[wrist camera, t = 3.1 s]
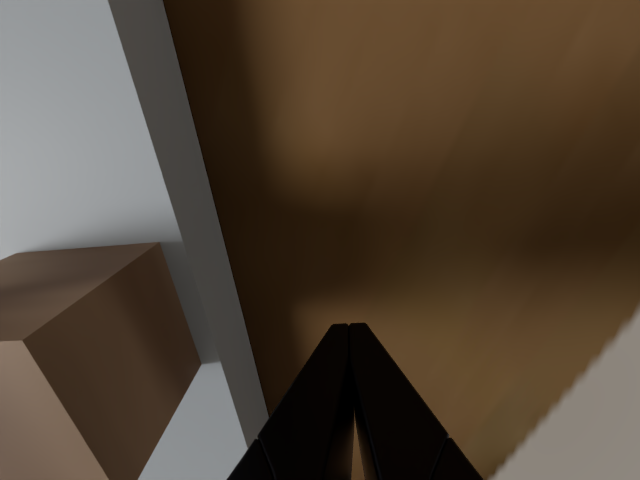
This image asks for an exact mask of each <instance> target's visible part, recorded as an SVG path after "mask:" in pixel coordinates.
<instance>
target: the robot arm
mask: <svg viewBox="0 0 640 480" xmlns="http://www.w3.org/2000/svg"><path fill="white" fill-rule="evenodd" d="M354 411H355V421H356V428H357V435H358V441H359V447H360V453H361V459H362V465H363V471H364V477H365V480H484V479H483V478H482V477H481V476H480V474H479V473H478V472H477V471H476V469H475V468H474V467H473V465H472V464H471V463H470V462H469V460H468V459H467V458H466V456H465V455H464V454H463V452H462V451H461V450H460V448H459V447H458V446H457V444H456V443H455V442H454V440H453V439H452V438H449V434H448V433H447V431H446V430H445V429H444V427H443V426H442V425H441V423H440V422H439V421H438V419H437V418H436V416H435V415H434V414H433V412H432V411H431V410H430V408H429V407H428V406H427V404H426V403H425V402H424V400H423V399H422V398H421V396H420V395H419V394H418V392H417V391H416V390H415V388H414V387H413V386H412V384H411V383H410V382H409V380H408V379H407V378H406V376H405V375H404V374H403V372H402V371H401V370H400V368H399V367H398V365H397V364H396V363H395V361H394V360H393V359H392V357H391V356H390V355H389V353H388V352H387V351H386V349H385V348H384V347H383V345H382V344H381V343H380V341H379V340H378V339H377V337H376V336H375V335H374V333H373V332H372V331H371V329H370V328H369V327H368V325H367V324H366V323H351V324H350V325H348V324H346V323H343V324H333V325H331V327H330V328H329V329H328V331H327V332H326V334H325V335H324V337H323V338H322V340H321V341H320V343H319V344H318V346H317V347H316V349H315V350H314V352H313V353H312V355H311V356H310V358H309V359H308V361H307V362H306V364H305V365H304V367H303V368H302V370H301V371H300V373H299V374H298V376H297V377H296V378H295V380H294V381H293V383H292V384H291V386H290V387H289V389H288V390H287V392H286V393H285V395H284V396H283V398H282V399H281V401H280V402H279V404H278V405H277V407H276V408H275V410H274V411H273V413H272V414H271V416H270V417H269V419H268V420H267V422H266V423H265V425H264V426H263V427H262V429H261V430H260V432H259V433H258V435H257V438H258V439H254V440H253V442H252V443H251V445H250V446H249V448H248V449H247V451H246V452H245V454H244V455H243V457H242V458H241V460H240V461H239V463H238V464H237V465H236V467H235V468H234V470H233V471H232V472H231V474H230V475H229V477H228V478H227V479H226V480H351V471H352V456H353V440H354Z"/></svg>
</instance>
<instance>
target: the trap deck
mask: <svg viewBox="0 0 640 480" xmlns="http://www.w3.org/2000/svg"><path fill="white" fill-rule="evenodd" d="M152 242H160V245H161V248H162V251H163V254H164V257H165V260H166V263H167V265H168V268H169V271H170V274H171V277H172V280H173V283H174V286H175V289H176V292H177V294H178V297H179V300H180V303H181V306H182V309H183V312H184V315H185V318H186V320H187V323H188V326H189V329H190V332H191V335H192V338H193V341H194V344H195V347H196V349H197V352H198V355H199V358H200V361H201V364H202V365H201V367H200V368H199V370H198V372H197V374H196V376H195V377H194V379H193V381H192V383H191V385H190V386H189V388H188V390H187V392H186V394H185V395H184V397H183V399H182V401H181V403H180V404H179V406H178V408H177V410H176V412H175V413H174V415H173V417H172V419H171V421H170V422H169V424H168V426H167V428H166V430H165V431H164V433H163V435H162V437H161V439H160V440H159V442H158V444H157V446H156V448H155V449H154V451H153V453H152V455H151V457H150V458H149V460H148V462H147V464H146V466H145V467H144V469H143V471H142V473H141V475H140V476H139V478H138V480H226V479H227V478H228V477H229V475H230V474H231V472H232V471H233V470H234V468H235V467H236V465H237V464H238V463H239V461H240V460H241V458H242V457H243V455H244V454H245V452H246V451H247V449H248V448H249V446H250V445H251V443H252V442H253V440H254V439H258V438H257V435H258V433H259V432H260V430H261V429H262V427H263V426H264V425H265V423H266V422H267V420H268V419H269V416H268V412H267V408H266V404H265V401H264V397H263V393H262V389H261V385H260V381H259V377H258V373H257V369H256V365H255V361H254V357H253V353H252V349H251V346H250V342H249V338H248V334H247V330H246V326H245V322H244V318H243V314H242V310H241V306H240V302H239V298H238V294H237V291H236V287H235V283H234V279H233V275H232V271H231V267H230V263H229V259H228V255H227V251H226V247H225V243H224V239H223V236H222V232H221V228H220V224H219V220H218V216H217V212H216V208H215V204H214V200H213V196H212V192H211V188H210V185H209V181H208V177H207V173H206V169H205V165H204V161H203V157H202V153H201V149H200V145H199V141H198V137H197V133H196V130H195V126H194V122H193V118H192V114H191V110H190V106H189V102H188V98H187V94H186V90H185V86H184V82H183V78H182V75H181V71H180V67H179V63H178V59H177V55H176V51H175V47H174V43H173V39H172V35H171V31H170V27H169V23H168V20H167V16H166V12H165V8H164V4H163V0H0V260H2V259H4V258H6V257H8V256H11V255H13V254H15V253H24V252H37V251H50V250H62V249H75V248H88V247H101V246H113V245H126V244H139V243H152Z"/></svg>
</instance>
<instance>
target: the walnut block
mask: <svg viewBox="0 0 640 480" xmlns="http://www.w3.org/2000/svg"><path fill="white" fill-rule="evenodd" d="M201 365H202V364H201V361H200V358H199V355H198V352H197V349H196V347H195V344H194V341H193V338H192V335H191V332H190V329H189V326H188V323H187V320H186V318H185V315H184V312H183V309H182V306H181V303H180V300H179V297H178V294H177V292H176V289H175V286H174V283H173V280H172V277H171V274H170V271H169V268H168V265H167V263H166V260H165V257H164V254H163V251H162V248H161V245H160V242H152V243H139V244H126V245H113V246H101V247H88V248H75V249H62V250H50V251H37V252H24V253H15V254H13V255H11V256H8V257H6V258H4V259H2V260H0V480H138V478H139V476H140V475H141V473H142V471H143V469H144V467H145V466H146V464H147V462H148V460H149V458H150V457H151V455H152V453H153V451H154V449H155V448H156V446H157V444H158V442H159V440H160V439H161V437H162V435H163V433H164V431H165V430H166V428H167V426H168V424H169V422H170V421H171V419H172V417H173V415H174V413H175V412H176V410H177V408H178V406H179V404H180V403H181V401H182V399H183V397H184V395H185V394H186V392H187V390H188V388H189V386H190V385H191V383H192V381H193V379H194V377H195V376H196V374H197V372H198V370H199V368H200V367H201Z"/></svg>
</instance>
